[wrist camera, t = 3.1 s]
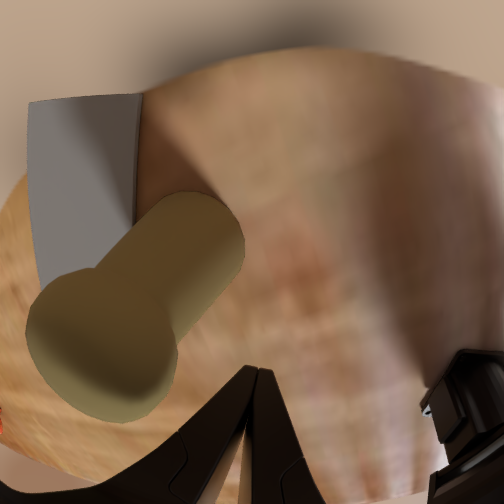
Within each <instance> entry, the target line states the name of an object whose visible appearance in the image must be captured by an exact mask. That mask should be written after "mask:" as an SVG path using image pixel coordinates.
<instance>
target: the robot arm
mask: <svg viewBox="0 0 504 504" xmlns="http://www.w3.org/2000/svg"><path fill="white" fill-rule="evenodd" d="M462 356H463V357H462ZM257 373H258V374H257ZM421 412H422V416H424V417H432V418H433V421H434V425H435V428H436V432H437V436H438V440H439V442H440V444H444V447H445V451H446V455H447V459H448V463H449V465H448V466H446V467H444V468H443V469H441V470H440V471H436V472H434V473H433V474H431V475H430V481H429V492H428V501H427V504H504V352H494V351H480V350H468V349H462V350H460V351H458V352H457V353H456V355H455V357H454V358H453V360H452V362H451V364H450V365H449V367H448V369H447V370H446V372H445V374H444V375H443V377H442V379H441V380H440V382H439V384H438V385H437V387H436V388H435V390H434V391H433V393H432V395H431V396H430V398H429V399H428V401H427V402H426V404H425V405H424V407H423V408H422V410H421ZM247 418H248V419H247ZM245 427H246V428H245ZM244 430H245V433H244ZM243 434H244V441H243V452H242V463H241V474H240V485H239V496H238V504H326V503H325V501H324V499H323V497H322V496H321V494H320V492H319V490H318V488H317V486H316V484H315V482H314V480H313V477H312V475H311V473H310V470H309V468H308V465H307V463H306V460H305V458H304V455H303V452H302V449H301V447H300V444H299V441H298V439H297V436H296V433H295V430H294V428H293V425H292V422H291V419H290V417H289V414H288V411H287V408H286V406H285V403H284V400H283V397H282V395H281V392H280V389H279V386H278V383H277V381H276V378H275V375H274V372H273V371H272V370H270V369H265V368H259V369H258V368H257V367H255V366H250V365H244V366H243V367H242V368H241V369H240V370H239V371H238V372H237V373H236V374H235V375H234V376H233V377H232V378H231V379H230V380H229V381H228V382H227V383H226V384H225V385H224V386H223V387H222V388H221V389H220V390H219V391H218V392H217V393H216V394H215V395H214V396H213V397H212V398H211V399H210V400H209V401H208V402H207V403H206V404H205V405H204V406H203V407H202V408H201V409H200V410H199V411H197V412H196V413H195V414H194V415H193V416H192V417H191V418H190V419H189V420H188V421H187V422H186V423H185V424H184V425H183V426H182V427H180V428H179V429H178V431H176V432H175V433H174V434H173V435H172V436H170V437H169V438H168V439H167V440H166V441H165V442H164V443H162V444H161V445H160V446H159V447H158V448H156V449H155V450H154V451H152V452H151V453H149V454H148V455H146V456H145V457H144V458H142V459H141V460H139V461H137V462H136V463H134V464H133V465H131V466H130V467H128V468H126V469H125V470H123V471H122V472H120V473H118V474H117V475H115V476H113V477H112V478H110V479H108V480H106V481H104V482H102V483H100V484H97V485H95V486H91V487H87V488H80V489H73V490H65V491H56V492H44V493H24V492H19V491H16V490H14V489H12V488H10V487H8V486H7V485H6V484H5V483H3V482H2V481H1V480H0V504H215V502H216V500H217V498H218V495H219V493H220V491H221V488H222V486H223V484H224V481H225V479H226V477H227V474H228V472H229V469H230V467H231V464H232V462H233V460H234V457H235V455H236V452H237V450H238V447H239V445H240V442H241V440H242V437H243Z"/></svg>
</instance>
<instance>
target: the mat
mask: <svg viewBox="0 0 504 504" xmlns="http://www.w3.org/2000/svg"><path fill="white" fill-rule="evenodd" d="M142 96H143V94H114V95H96V96H82V97H71V98H61V99H52V100H44V101H37V102H31V103H29V107H28V126H27V177H28V196H29V209H30V220H31V229H32V237H33V244H34V251H35V258H36V264H37V270H38V275H39V280H40V285H41V290H43V289H44V288H45V287H46V286H47V285H48V284H49V283H50V282H52V281H53V280H55V279H56V278H57V277H59V276H61V275H65V274H68V273H71V272H74V271H77V270H81V269H84V268H94V267H95V266H96V265H97V264H98V263H99V262H100V261H101V260H102V259H103V258H104V256H105V255H106V254H107V253H108V252H109V251H110V250H111V249H112V248H113V247H114V246H115V245H116V244H117V243H118V241H119V240H120V239H121V238H122V237H123V236H124V235H125V234H126V233H127V232H128V231H129V230H130V229H131V228H132V227H133V226H134V225H135V224H136V177H137V156H138V140H139V127H140V115H141V105H142Z"/></svg>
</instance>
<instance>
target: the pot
mask: <svg viewBox="0 0 504 504" xmlns="http://www.w3.org/2000/svg"><path fill="white" fill-rule="evenodd" d="M0 413H1V408H0ZM2 431H3V428H2V422H1V419H0V434H2Z"/></svg>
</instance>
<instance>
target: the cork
mask: <svg viewBox="0 0 504 504" xmlns="http://www.w3.org/2000/svg"><path fill="white" fill-rule="evenodd" d="M244 257H245V239H244V236H243V233H242V231H241V228H240V225H239V222H238V221H237V220H236V218H235V217H234V216H233V214H232V213H231V212H230V210H229V209H228V208H227V207H226V206H224V205H223V204H222V203H220V202H219V201H218V200H216V199H215V198H214V197H211V196H208V195H205V194H202V193H199V192H196V191H179V192H176V193H174V194H171V195H168V196H165V197H164V198H162V199H161V200H160V201H159V202H158V203H157V204H155V205H154V206H153V207H152V208H151V209H150V210H149V211H148V212H147V213H146V214H145V215H144V216H143V217H142V218H141V219H140V220H139V221H138V222H137V223H136V224H135V225H134V226H133V227H132V228H131V229H130V230H129V231H128V232H127V233H126V234H125V235H124V236H123V237H122V238H121V239H120V240H119V241H118V243H117V244H116V245H115V246H114V247H113V248H112V249H111V250H110V251H109V252H108V253H107V254H106V255H105V256H104V258H103V259H102V260H101V261H100V262H99V263H98V264H97V265H96V266H95V267H94V268H84V269H81V270H77V271H74V272H71V273H68V274H65V275H61V276H59V277H57V278H56V279H55V280H53V281H52V282H50V283H49V284H48V285H47V286H46V287H45V288H44V289H43V290H42V292H41V293H40V294H39V295H38V297H37V298H36V300H35V301H34V302H33V304H32V305H31V307H30V311H29V315H28V319H27V325H26V332H25V335H26V340H27V345H28V349H29V352H30V355H31V357H32V359H33V361H34V363H35V366H36V368H37V370H38V371H39V373H40V374H41V375H42V377H43V378H44V380H45V381H46V383H47V384H48V385H49V386H50V387H51V388H52V389H53V390H54V391H55V392H56V393H57V394H58V395H59V396H60V397H61V398H62V399H63V400H65V401H66V402H67V403H68V404H70V405H71V406H72V407H74V408H75V409H77V410H79V411H81V412H82V413H84V414H86V415H88V416H91V417H93V418H96V419H99V420H102V421H106V422H112V423H120V424H123V423H128V422H132V421H135V420H138V419H140V418H142V417H145V416H147V415H148V414H149V413H150V412H151V411H152V410H153V409H154V408H155V407H156V406H157V405H158V404H159V403H160V402H161V401H162V400H163V399H164V398H165V397H166V396H167V394H168V392H169V390H170V388H171V386H172V383H173V379H174V375H175V370H176V365H177V359H178V350H177V344H178V343H179V342H180V341H181V340H182V338H183V337H184V336H185V335H186V334H187V333H188V331H189V330H190V329H191V328H192V327H193V326H194V324H195V323H196V322H197V321H198V320H199V319H200V318H201V316H202V315H203V314H204V313H205V312H206V311H207V309H208V308H209V307H210V306H211V305H212V303H213V302H214V301H215V300H216V299H217V298H218V296H219V295H220V294H221V293H222V292H223V291H224V289H225V288H226V287H227V286H228V285H229V284H230V282H231V281H232V280H233V279H234V278H235V276H236V275H237V274H238V273H239V271H240V269H241V266H242V263H243V260H244Z"/></svg>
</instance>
